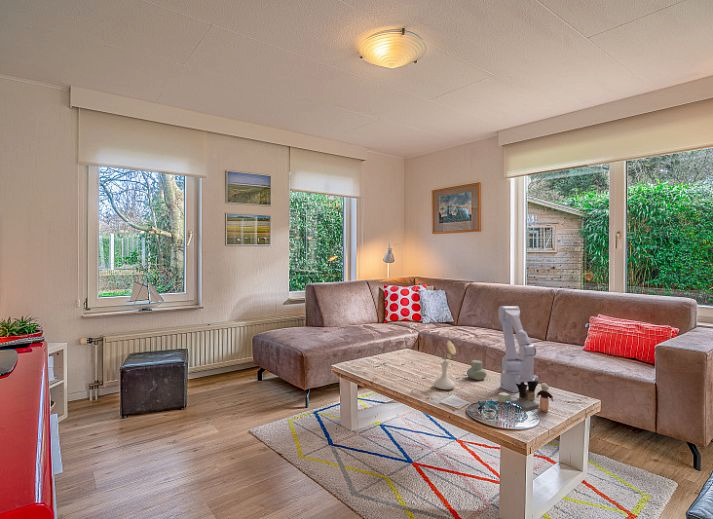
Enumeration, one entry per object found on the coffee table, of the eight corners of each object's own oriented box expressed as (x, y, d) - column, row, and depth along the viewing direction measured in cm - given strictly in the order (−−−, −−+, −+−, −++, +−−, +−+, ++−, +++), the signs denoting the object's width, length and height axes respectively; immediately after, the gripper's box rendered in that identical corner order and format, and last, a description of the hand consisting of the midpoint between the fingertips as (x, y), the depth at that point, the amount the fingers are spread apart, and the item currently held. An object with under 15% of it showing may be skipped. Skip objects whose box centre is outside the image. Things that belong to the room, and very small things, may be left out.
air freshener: (471, 381, 226) (471, 363, 226) (464, 377, 234) (464, 359, 234) (488, 380, 228) (489, 362, 228) (481, 376, 236) (481, 359, 236)
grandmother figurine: (534, 410, 184) (535, 382, 184) (536, 407, 187) (536, 380, 187) (553, 414, 179) (553, 386, 179) (554, 411, 183) (554, 383, 183)
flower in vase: (444, 392, 207) (444, 344, 206) (428, 386, 216) (429, 340, 216) (461, 388, 214) (462, 341, 214) (446, 382, 223) (446, 337, 223)
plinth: (509, 405, 190) (509, 401, 190) (522, 401, 195) (522, 398, 195) (526, 411, 183) (526, 408, 183) (538, 407, 187) (538, 404, 187)
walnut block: (519, 398, 199) (519, 390, 199) (525, 397, 202) (525, 389, 202) (528, 402, 195) (528, 393, 195) (534, 400, 198) (534, 392, 197)
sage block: (498, 401, 195) (498, 393, 195) (503, 400, 197) (503, 392, 197) (504, 404, 192) (505, 395, 192) (510, 402, 194) (510, 394, 194)
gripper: (524, 373, 191) (524, 401, 191) (543, 368, 199) (543, 396, 199) (512, 369, 197) (512, 396, 197) (531, 365, 205) (530, 392, 205)
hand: (526, 396), depth 198 cm, fingers open, 6 cm apart
